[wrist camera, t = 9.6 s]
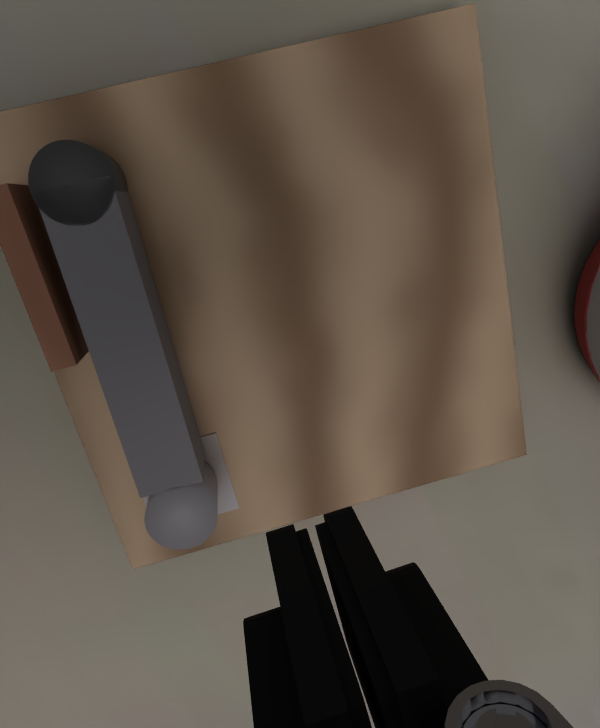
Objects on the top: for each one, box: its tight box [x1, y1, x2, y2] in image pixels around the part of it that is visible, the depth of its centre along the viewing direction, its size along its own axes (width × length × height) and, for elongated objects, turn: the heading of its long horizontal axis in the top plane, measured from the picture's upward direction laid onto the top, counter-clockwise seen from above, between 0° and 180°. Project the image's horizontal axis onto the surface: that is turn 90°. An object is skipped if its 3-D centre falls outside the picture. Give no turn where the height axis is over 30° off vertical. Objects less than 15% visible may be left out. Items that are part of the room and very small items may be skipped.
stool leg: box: [28, 140, 218, 550], centre depth 23 cm, size 18×3×3 cm, turn 12°
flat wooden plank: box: [0, 3, 527, 569], centre depth 25 cm, size 22×22×6 cm
